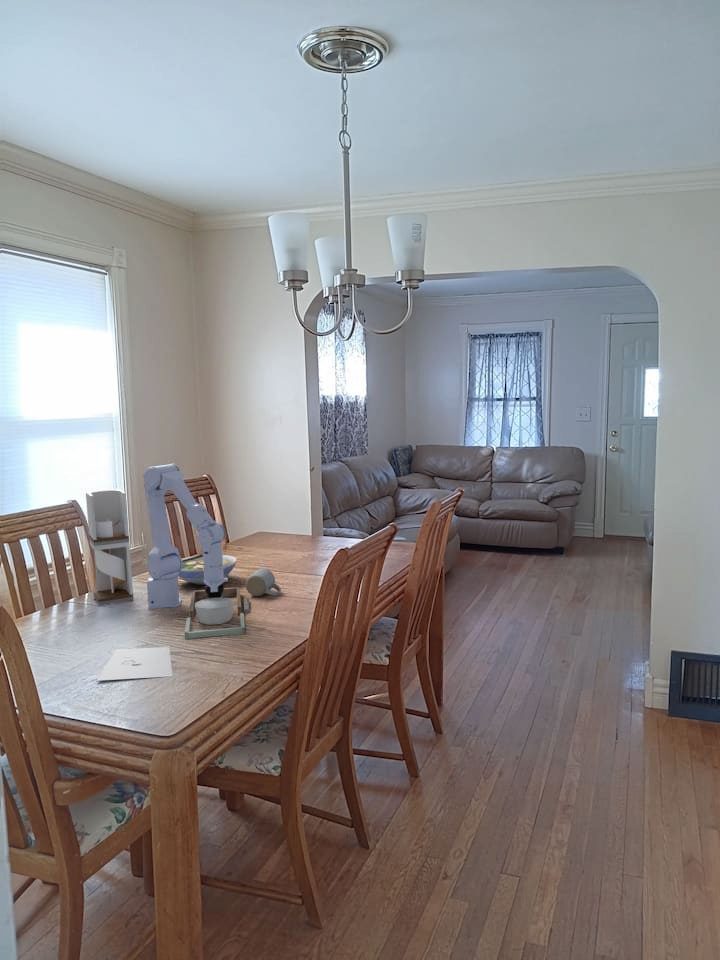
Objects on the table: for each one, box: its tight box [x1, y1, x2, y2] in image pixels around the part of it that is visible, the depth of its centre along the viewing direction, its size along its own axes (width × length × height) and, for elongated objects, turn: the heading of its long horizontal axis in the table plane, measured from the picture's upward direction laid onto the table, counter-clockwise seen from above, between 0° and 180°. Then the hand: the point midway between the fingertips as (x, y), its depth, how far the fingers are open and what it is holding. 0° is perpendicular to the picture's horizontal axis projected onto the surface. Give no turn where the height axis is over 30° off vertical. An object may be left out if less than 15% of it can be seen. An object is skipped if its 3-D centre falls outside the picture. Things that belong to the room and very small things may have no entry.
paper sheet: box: [96, 646, 173, 682], centre depth 177 cm, size 24×29×1 cm
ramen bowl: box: [178, 553, 238, 586], centre depth 252 cm, size 25×23×8 cm
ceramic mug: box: [245, 567, 282, 597], centre depth 235 cm, size 11×8×8 cm
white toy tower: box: [85, 488, 134, 606], centre depth 233 cm, size 11×11×35 cm
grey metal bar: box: [243, 597, 250, 614], centre depth 221 cm, size 1×12×1 cm, turn 9°
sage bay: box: [184, 612, 246, 640], centre depth 202 cm, size 16×14×2 cm
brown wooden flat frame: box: [188, 586, 243, 620], centre depth 223 cm, size 15×23×2 cm, turn 11°
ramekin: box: [194, 597, 235, 626], centre depth 209 cm, size 11×11×5 cm
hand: (215, 609), depth 216 cm, fingers closed
